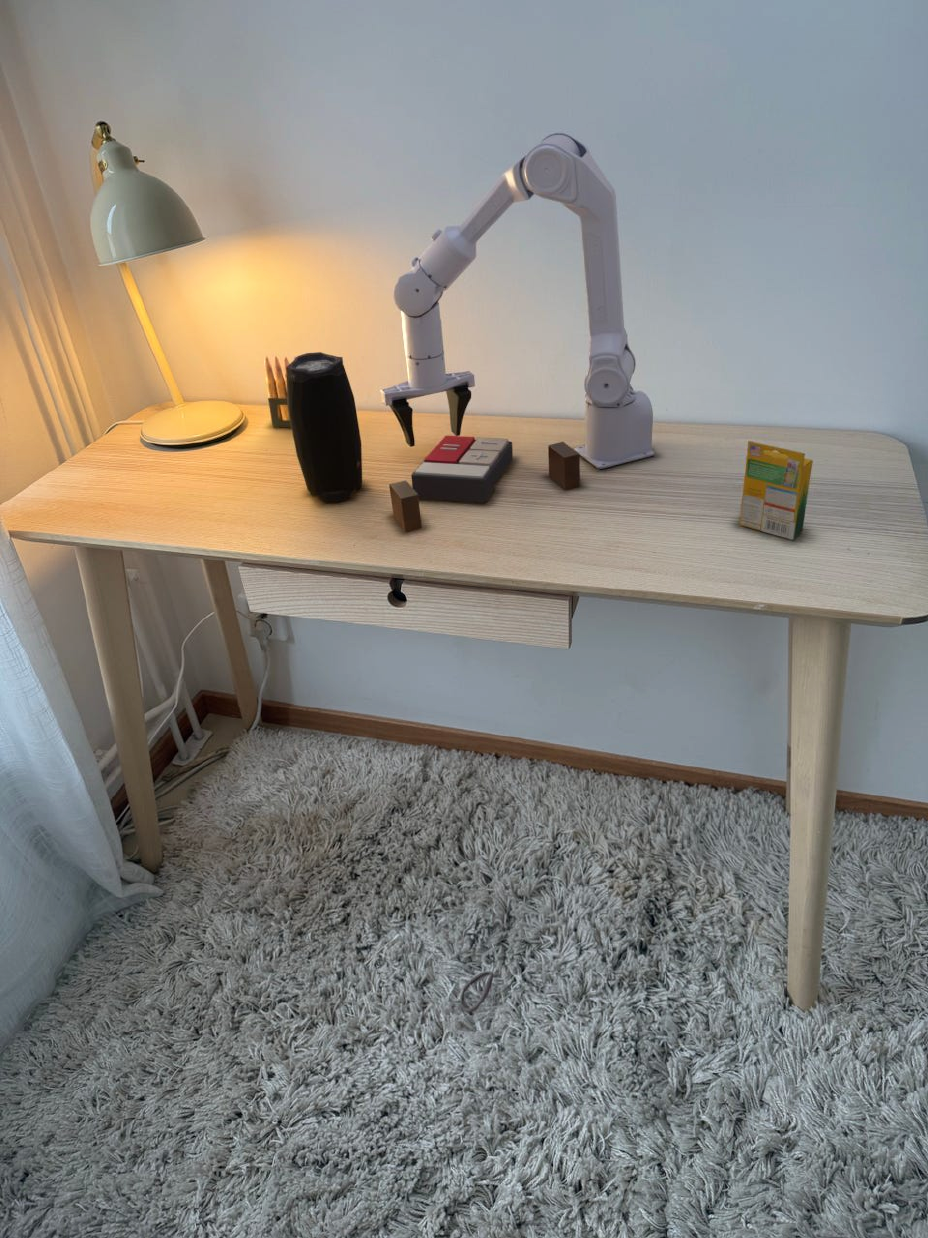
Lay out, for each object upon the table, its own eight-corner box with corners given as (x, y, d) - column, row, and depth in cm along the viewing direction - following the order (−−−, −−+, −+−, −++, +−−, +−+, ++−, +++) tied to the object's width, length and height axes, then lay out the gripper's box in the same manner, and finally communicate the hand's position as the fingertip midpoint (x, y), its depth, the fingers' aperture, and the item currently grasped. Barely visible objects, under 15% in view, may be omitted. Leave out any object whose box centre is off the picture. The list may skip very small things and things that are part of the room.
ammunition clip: (272, 426, 158) (258, 357, 151) (276, 422, 159) (263, 354, 152) (329, 428, 155) (318, 358, 148) (333, 424, 156) (322, 355, 150)
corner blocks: (563, 473, 134) (563, 441, 131) (579, 486, 130) (579, 453, 127) (393, 516, 127) (388, 484, 124) (405, 532, 123) (401, 498, 120)
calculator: (512, 436, 137) (484, 474, 125) (513, 463, 139) (486, 503, 127) (443, 432, 140) (409, 470, 128) (445, 459, 143) (412, 498, 130)
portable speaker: (379, 486, 135) (360, 355, 124) (330, 511, 129) (306, 377, 118) (341, 472, 140) (320, 345, 129) (292, 495, 134) (266, 365, 123)
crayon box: (803, 531, 115) (816, 445, 108) (792, 541, 113) (805, 454, 107) (749, 516, 119) (758, 432, 113) (738, 525, 117) (747, 440, 111)
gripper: (459, 337, 141) (466, 420, 149) (370, 355, 137) (381, 440, 145) (477, 349, 136) (483, 435, 143) (385, 368, 132) (396, 455, 139)
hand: (433, 438), depth 144 cm, fingers open, 7 cm apart
